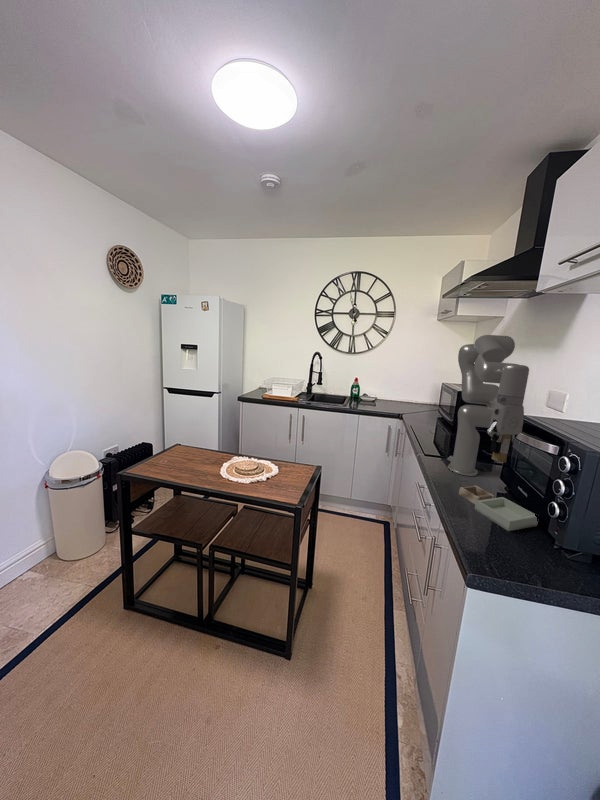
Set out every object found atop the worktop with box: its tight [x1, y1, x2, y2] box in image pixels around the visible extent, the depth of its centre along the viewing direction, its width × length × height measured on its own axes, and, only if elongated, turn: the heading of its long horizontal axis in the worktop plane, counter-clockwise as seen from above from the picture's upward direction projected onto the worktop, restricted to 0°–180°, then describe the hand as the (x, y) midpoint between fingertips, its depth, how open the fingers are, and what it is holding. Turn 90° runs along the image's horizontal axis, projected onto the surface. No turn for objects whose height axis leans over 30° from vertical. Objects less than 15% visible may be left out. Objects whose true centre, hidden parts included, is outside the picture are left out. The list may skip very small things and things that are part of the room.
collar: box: [458, 485, 495, 505], centre depth 119 cm, size 8×8×3 cm
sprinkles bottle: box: [491, 432, 511, 463], centre depth 108 cm, size 5×5×13 cm
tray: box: [474, 496, 539, 532], centre depth 107 cm, size 13×13×4 cm
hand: (500, 451), depth 109 cm, fingers closed on sprinkles bottle, 4 cm apart
